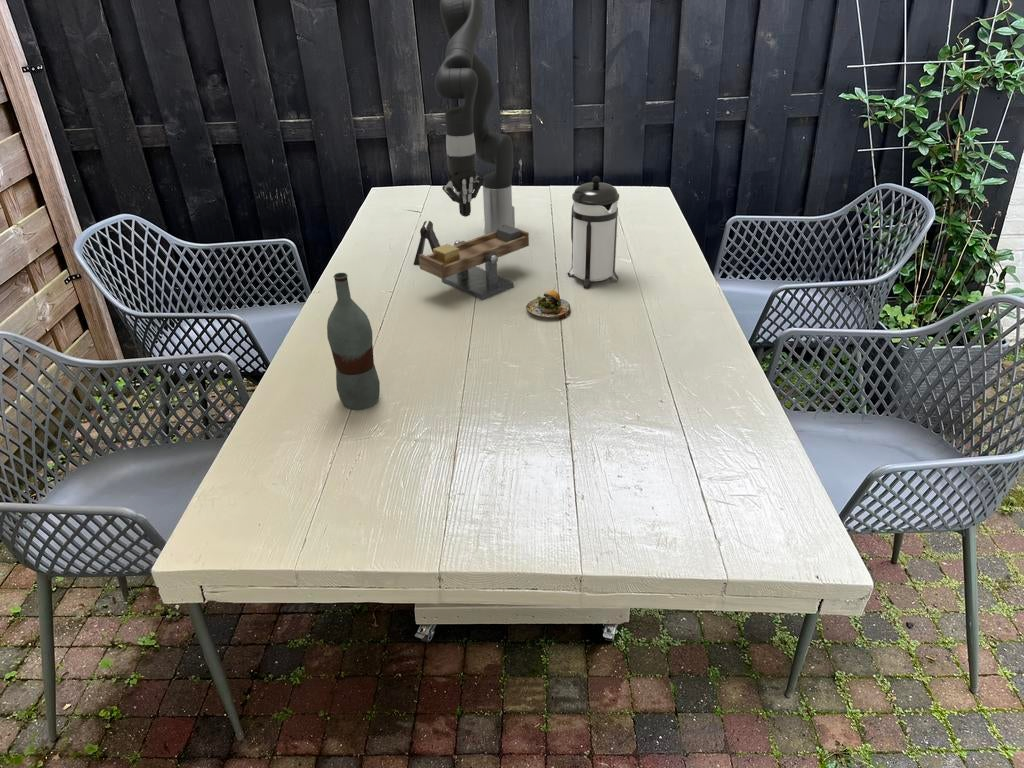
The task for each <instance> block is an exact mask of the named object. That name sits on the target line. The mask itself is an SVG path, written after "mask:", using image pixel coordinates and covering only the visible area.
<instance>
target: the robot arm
mask: <svg viewBox="0 0 1024 768" xmlns="http://www.w3.org/2000/svg"><path fill="white" fill-rule="evenodd" d="M483 9H484V8H483V3H482V0H439V12H440V16H441V20H442V23H443V26H444V30H445V32H446V35H447V39H448V43H447V46H446V49H445V56H444V57H445V58H444V60H443V62H442V63H441V65H440V67H439V68H438V70H437V72H436V75H435V79H434V90H435V91H436V94H437V95H438V97H440V98H441V99H444V100H462V99H463V100H464V101H463V104H461V105H459V106H456V107H453V108H448V109H447V110H446V111H445V113H444V120H445V121H444V122H445V123H444V124H445V132H446V133H445V134H446V135H445V146H446V147H445V148H446V161H447V170H448V172H449V175H448V182H447V184H446V185H445V184H444V185H443V186H442V190H443V192H444V193H445V194H446V196H448V197H449V199H451V201H452V202H455V203H457V204H458V207H459V208H458V211H459V214H460V215H461V216H462V217H464V218H465V217H469V216H471V212H472V209H471V208H472V207H471V202H472V200H473V199H476V197H477V196H478V194H479V191H480V189H481V187H482V195H483V196H482V197H483V198H482V200H483V218H484V219H483V220H484V221H483V222H484V235H486V234H489V233H492V232H494V231H497V229H498V228H501V227H503V225H505V224H506V225H508V226H511V227H514V228H516V219H515V214H516V213H515V206H513V192H512V178H513V172H514V171H513V169H514V142H513V139H512V137H511V135H509V134H506V133H499V132H498V133H497V132H491V131H490V129H489V126H488V125H489V124H488V115H489V112H490V109H491V107H492V104H493V102H494V99H495V87H494V81H493V79H492V78H493V77H492V74H491V70H490V68H489V67H488V65H487V64H486V63H485V62H484V61H483V60H482V59H481V58H480V57H479V56H478V55H477V54H476V53H475V52H474V50H475V47H476V43H477V41H478V38H479V36H480V35H479V34H480V32H481V28H482V25H483V22H484V10H483ZM477 159H478V160H479V161H480V162H482V163H485V164H492V165H495V171H491V172H489V173H485V175H483V177H482V176H479V175H478V173H477V171H476V169H477Z"/></svg>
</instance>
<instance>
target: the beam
mask: <svg viewBox="0 0 1024 768" xmlns="http://www.w3.org/2000/svg"><path fill="white" fill-rule="evenodd" d="M504 226H508V225H506V224H505V225H503V227H504ZM510 227H511V226H510ZM513 228H514V227H513ZM515 229H518V230H521V237H520V238H517V239H515V240H512V241H509V242H504V241H502V240H499V239H497V231H494V232H492V233H489V234H486V235H485V234H484V235H481V236H477V237H475V238H472V239H469V240H467V241H465V242H464V243H461V244H458V245H455V246H454V245H453V246H454V247H456V248H459V256H460V260H458V261H455V262H453V263H450V264H447V265H445V266H444V264H443V263H441V262H439V261H436V260H434V254H433V253H430V254H428V255H425V254H424V253H423V254H420V255H419V264H420V265H419V269H420V270H422V271H424V272H426V273H429V274H431V275H434V276H436V277H438V278H439V279H441V280H442V279H444V278H446V277H449V276H451V275H454V274H457V273H459V272H462V271H465V270H467V269H470V268H472V267H475V266H476V267H478V266H479V265H482V264H485V255H487V254H490V253H496V254H497V257H498V258H501V257H504V256H505V255H508V254H511V253H514V252H516V251H519V250H521V249H524V248H527V247H529V246H530V242H529V241H530V240H529V239H530V237H529V235H530V234H529V232H527V231H525V230H522V229H520V228H516V227H515Z"/></svg>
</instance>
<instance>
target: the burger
mask: <svg viewBox="0 0 1024 768" xmlns="http://www.w3.org/2000/svg"><path fill="white" fill-rule="evenodd" d="M556 286H557V285H556V284H554V289H551V290H547V291H545V292H544V293H543V297H541V296H540V295H538V296H536V298H534V299H533V300H531V301H529V302H528V303H527V304H526V305H525V306H526V307H525V309H526V310H527V312H529V313H531V314H532V315H534V316H536V317H539V318H547V319H551V318H557V317H558V320H559V321H561V320H564V319H567V315H568V316H571V313H572V312H571V310H572V309H571V305H570V303H569V302H568V301H567V300H565V299H563V298H561V296H560V295H561V294H559V292H557V291H556V290H555V288H556Z"/></svg>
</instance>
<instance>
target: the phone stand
mask: <svg viewBox="0 0 1024 768" xmlns="http://www.w3.org/2000/svg"><path fill="white" fill-rule="evenodd" d="M427 221H428V220H425V221H424V222H423V224H422V226H421V228H420V230H419V233H420V239H419V242H418V245H417V250H416V254H415V256H414V261H413V265H414V266H420V264H419V255H420V254H423V255H424V250H425V246H426V245H425V243H426V239H427V241H428V244H429V246H430V250H431V251H432V253H433V249H434V248H437V247H440V246H441V243H440V242H439V240H438V238H437V235H436V233H435V230H434V223H433V222H432V221H431V220H429V221H428V222H427ZM425 226H426V227H425Z"/></svg>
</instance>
